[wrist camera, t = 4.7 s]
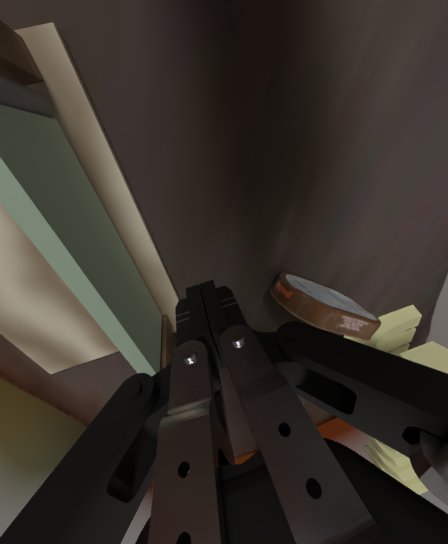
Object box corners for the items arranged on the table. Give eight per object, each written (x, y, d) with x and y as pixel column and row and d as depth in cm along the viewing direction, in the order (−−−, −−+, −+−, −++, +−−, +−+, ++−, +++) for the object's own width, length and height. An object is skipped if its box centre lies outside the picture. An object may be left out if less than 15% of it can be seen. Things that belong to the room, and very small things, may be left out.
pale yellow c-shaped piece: (336, 298, 32) (484, 429, 17) (427, 266, 33) (641, 362, 18) (328, 393, 48) (399, 503, 33) (388, 369, 49) (485, 465, 34)
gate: (43, 88, 13) (-102, 17, 6) (163, 314, 24) (161, 381, 17) (17, 94, 13) (-161, 29, 6) (150, 318, 24) (143, 388, 17)
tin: (258, 280, 27) (291, 327, 20) (271, 260, 26) (310, 302, 18) (334, 305, 33) (380, 348, 26) (347, 290, 32) (399, 330, 25)
